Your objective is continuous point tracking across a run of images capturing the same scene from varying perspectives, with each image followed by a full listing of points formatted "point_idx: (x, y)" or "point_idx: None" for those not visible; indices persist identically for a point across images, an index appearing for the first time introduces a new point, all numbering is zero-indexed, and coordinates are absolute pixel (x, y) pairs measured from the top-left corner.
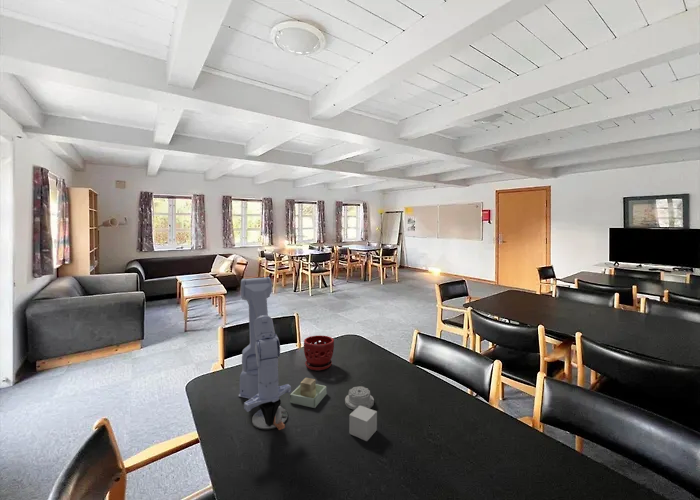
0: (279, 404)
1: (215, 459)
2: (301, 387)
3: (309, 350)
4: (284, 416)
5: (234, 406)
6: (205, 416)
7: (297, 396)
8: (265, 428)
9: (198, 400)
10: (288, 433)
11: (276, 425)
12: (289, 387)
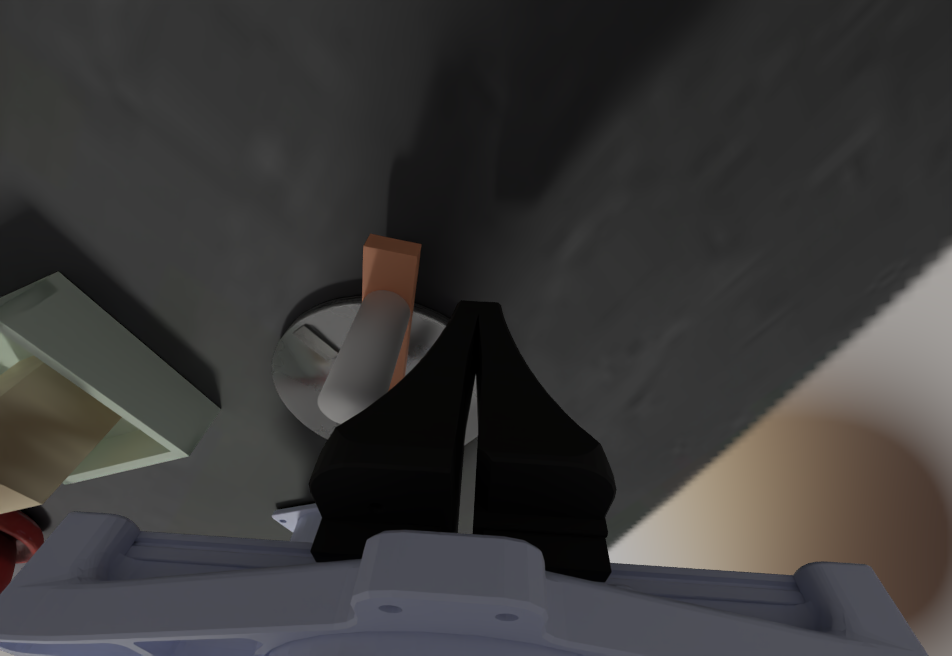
0: (358, 424)
1: (835, 329)
2: (65, 462)
3: None
4: (308, 338)
5: (471, 524)
6: None
7: (142, 417)
8: None
9: None
10: (364, 184)
11: (414, 296)
12: (15, 621)
